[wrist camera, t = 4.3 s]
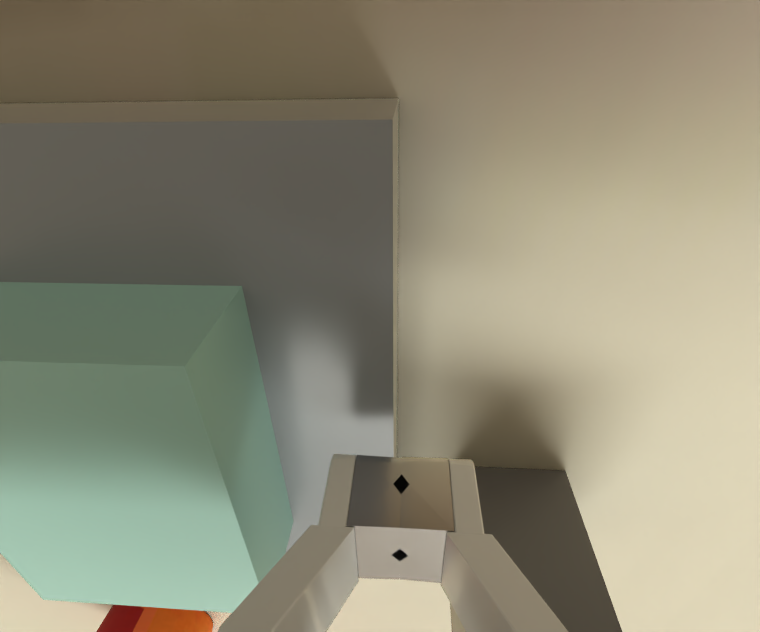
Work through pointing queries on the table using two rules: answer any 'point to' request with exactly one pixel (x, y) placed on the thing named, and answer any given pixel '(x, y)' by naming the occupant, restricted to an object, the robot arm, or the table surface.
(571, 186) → the table surface
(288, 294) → the socket
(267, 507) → the mint green block
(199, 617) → the paper cup
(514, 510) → the plug
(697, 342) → the table surface
